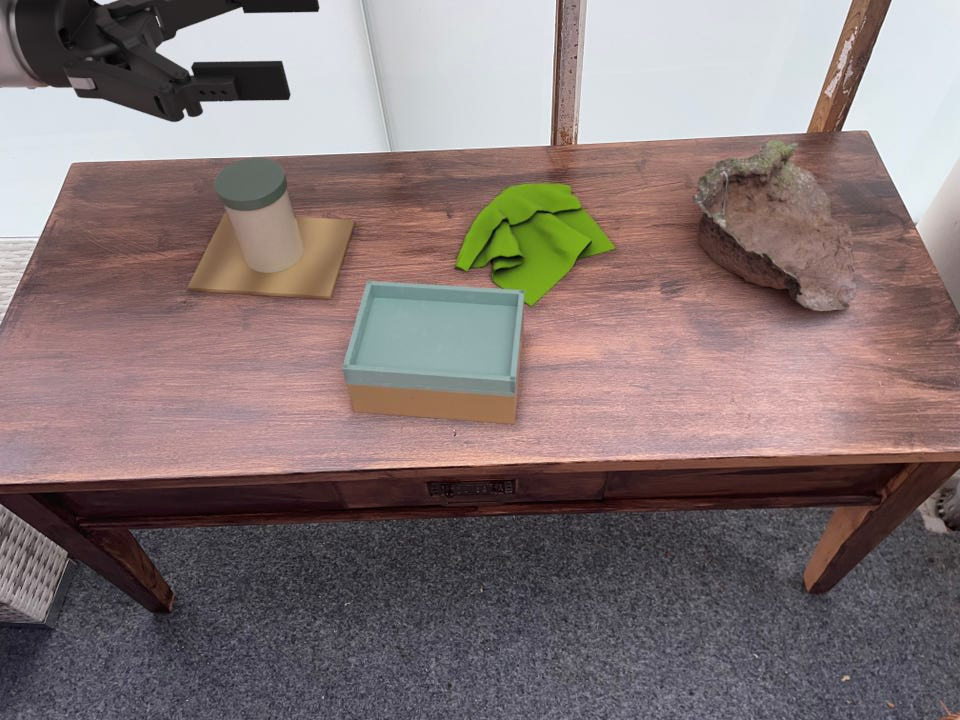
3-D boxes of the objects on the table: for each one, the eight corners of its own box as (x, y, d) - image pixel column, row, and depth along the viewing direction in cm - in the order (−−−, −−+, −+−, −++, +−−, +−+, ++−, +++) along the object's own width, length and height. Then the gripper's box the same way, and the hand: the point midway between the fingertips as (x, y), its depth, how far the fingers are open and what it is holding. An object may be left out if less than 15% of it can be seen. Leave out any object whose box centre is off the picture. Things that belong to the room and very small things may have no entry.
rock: (864, 355, 84) (918, 296, 76) (679, 320, 82) (716, 256, 75) (818, 214, 100) (859, 154, 92) (664, 183, 99) (692, 120, 91)
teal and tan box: (354, 412, 77) (341, 368, 71) (376, 326, 85) (367, 280, 79) (514, 424, 76) (515, 381, 70) (523, 335, 83) (524, 289, 77)
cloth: (572, 175, 101) (574, 161, 99) (635, 283, 88) (638, 268, 86) (431, 204, 98) (429, 190, 96) (473, 320, 85) (473, 306, 83)
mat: (188, 290, 89) (187, 287, 89) (225, 216, 98) (224, 212, 97) (330, 299, 87) (330, 296, 87) (355, 223, 96) (355, 219, 96)
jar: (234, 272, 90) (204, 199, 81) (253, 229, 95) (227, 155, 86) (296, 276, 89) (273, 202, 80) (312, 232, 94) (292, 158, 85)
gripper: (112, 10, 69) (333, 6, 68) (-2, 172, 53) (283, 170, 53) (76, -77, 63) (317, -82, 62) (-64, 78, 47) (255, 74, 47)
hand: (302, 34), depth 57 cm, fingers open, 13 cm apart
